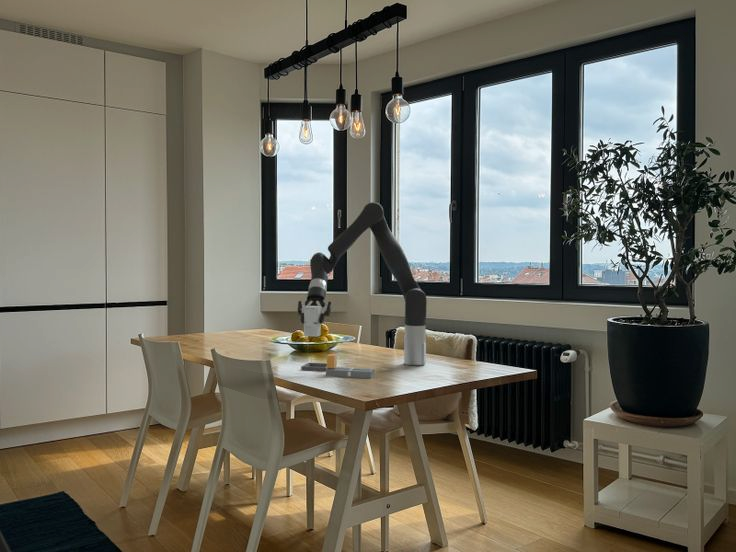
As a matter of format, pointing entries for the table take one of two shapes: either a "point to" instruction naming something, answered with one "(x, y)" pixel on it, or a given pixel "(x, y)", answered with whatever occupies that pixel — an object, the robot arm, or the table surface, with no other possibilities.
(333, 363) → the block
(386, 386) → the table surface
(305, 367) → the frame
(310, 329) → the skincare box
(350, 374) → the switch panel
